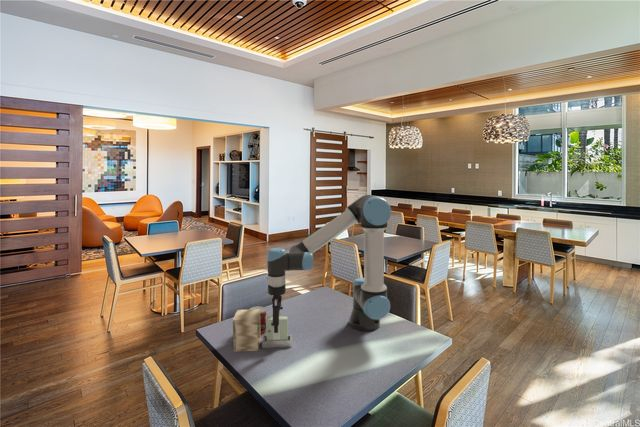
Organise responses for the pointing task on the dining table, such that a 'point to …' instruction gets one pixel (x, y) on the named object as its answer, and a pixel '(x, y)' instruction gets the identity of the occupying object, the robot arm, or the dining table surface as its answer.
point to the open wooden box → (246, 330)
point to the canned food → (261, 318)
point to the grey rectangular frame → (277, 343)
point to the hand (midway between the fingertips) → (277, 331)
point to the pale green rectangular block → (282, 327)
